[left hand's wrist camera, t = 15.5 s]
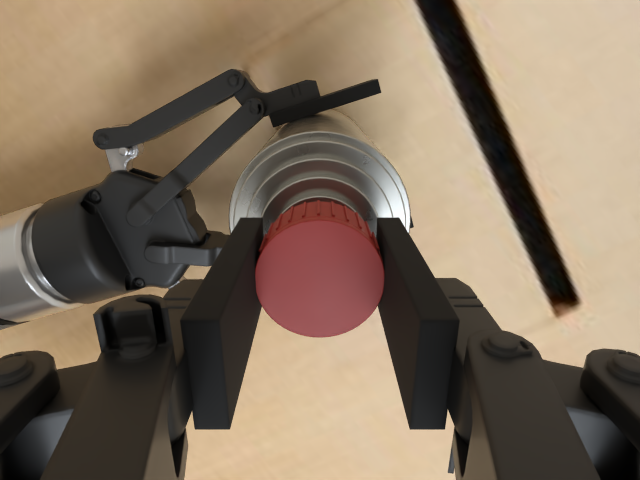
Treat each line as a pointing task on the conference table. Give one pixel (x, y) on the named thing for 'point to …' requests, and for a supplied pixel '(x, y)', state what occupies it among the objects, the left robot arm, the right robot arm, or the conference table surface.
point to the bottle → (319, 173)
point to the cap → (319, 270)
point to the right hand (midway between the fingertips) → (392, 154)
